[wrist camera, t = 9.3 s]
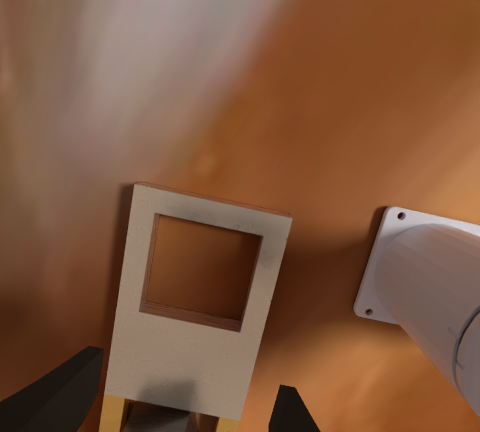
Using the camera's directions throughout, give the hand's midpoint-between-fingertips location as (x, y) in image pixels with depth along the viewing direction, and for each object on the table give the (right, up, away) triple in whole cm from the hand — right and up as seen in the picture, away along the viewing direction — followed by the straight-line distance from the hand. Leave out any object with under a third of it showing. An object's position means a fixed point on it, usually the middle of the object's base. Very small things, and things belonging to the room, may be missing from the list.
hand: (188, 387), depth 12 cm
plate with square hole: (-2, -3, +11) cm, 12 cm away
